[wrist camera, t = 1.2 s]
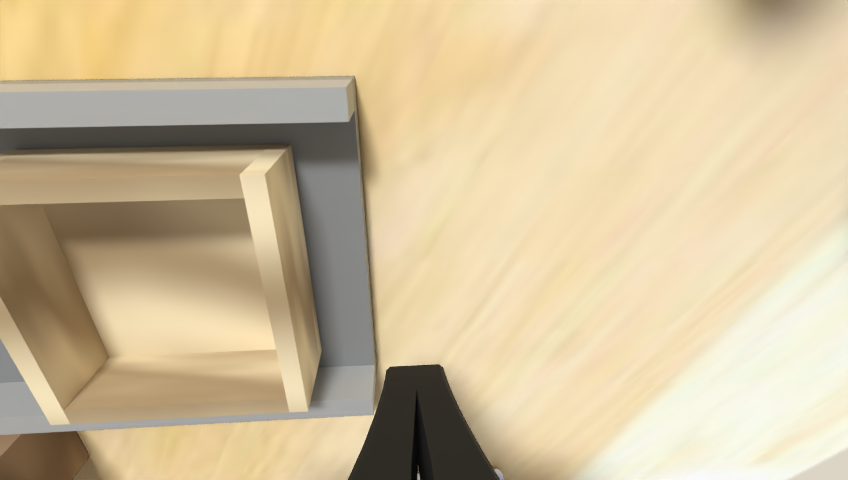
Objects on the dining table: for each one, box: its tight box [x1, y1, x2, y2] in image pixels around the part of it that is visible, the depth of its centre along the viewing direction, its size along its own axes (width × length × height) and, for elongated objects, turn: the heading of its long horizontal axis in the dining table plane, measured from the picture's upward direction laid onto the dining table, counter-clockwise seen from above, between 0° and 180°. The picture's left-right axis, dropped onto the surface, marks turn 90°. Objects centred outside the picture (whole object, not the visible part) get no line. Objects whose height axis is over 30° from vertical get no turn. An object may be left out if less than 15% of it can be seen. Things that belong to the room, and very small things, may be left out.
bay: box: [0, 76, 376, 435], centre depth 16 cm, size 14×22×4 cm, turn 90°
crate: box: [0, 144, 322, 425], centre depth 15 cm, size 9×9×3 cm
